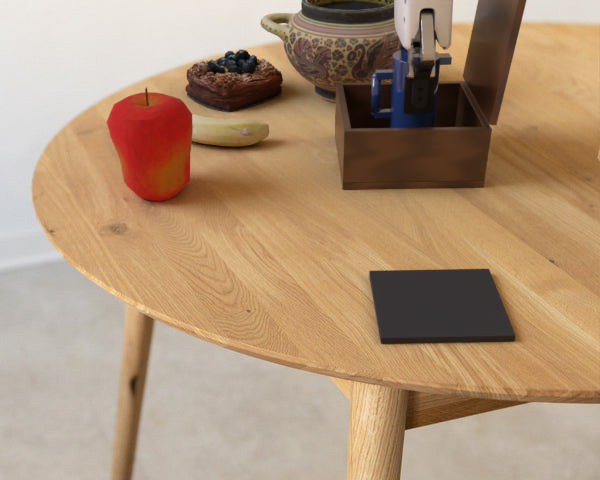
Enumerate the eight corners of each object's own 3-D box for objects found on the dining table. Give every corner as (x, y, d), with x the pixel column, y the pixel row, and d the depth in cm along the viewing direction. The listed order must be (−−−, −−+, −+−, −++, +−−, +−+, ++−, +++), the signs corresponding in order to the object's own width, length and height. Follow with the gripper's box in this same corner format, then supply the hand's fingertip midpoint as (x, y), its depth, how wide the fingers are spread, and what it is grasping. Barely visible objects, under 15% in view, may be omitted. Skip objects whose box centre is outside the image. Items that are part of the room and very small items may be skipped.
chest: (342, 189, 86) (344, 131, 82) (334, 135, 98) (335, 82, 94) (483, 187, 86) (492, 129, 82) (458, 133, 98) (465, 80, 94)
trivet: (488, 273, 72) (488, 268, 72) (514, 341, 64) (516, 335, 64) (369, 275, 72) (369, 270, 72) (380, 343, 64) (381, 337, 63)
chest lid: (528, -43, 72) (536, -42, 72) (493, -73, 84) (500, -73, 84) (489, 125, 82) (496, 125, 82) (462, 76, 94) (468, 77, 94)
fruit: (234, 162, 92) (233, 136, 90) (143, 131, 99) (140, 106, 97) (272, 142, 96) (271, 116, 94) (183, 114, 104) (180, 90, 102)
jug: (439, 127, 92) (446, 46, 87) (447, 145, 88) (455, 61, 82) (368, 130, 92) (370, 49, 87) (372, 148, 88) (374, 64, 82)
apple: (211, 181, 88) (203, 78, 81) (174, 215, 81) (162, 106, 74) (145, 168, 90) (131, 68, 83) (104, 201, 84) (86, 94, 77)
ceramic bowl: (439, 101, 114) (451, -9, 109) (429, 116, 98) (442, -12, 92) (277, 88, 119) (281, -18, 114) (242, 101, 103) (245, -22, 97)
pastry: (176, 95, 109) (172, 53, 106) (241, 74, 116) (239, 34, 113) (227, 116, 103) (224, 72, 99) (292, 93, 110) (292, 51, 106)
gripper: (480, -59, 70) (461, 131, 81) (447, -90, 84) (434, 75, 95) (397, -56, 70) (389, 134, 81) (377, -88, 84) (372, 77, 95)
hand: (413, 100), depth 88 cm, fingers closed on jug, 5 cm apart
